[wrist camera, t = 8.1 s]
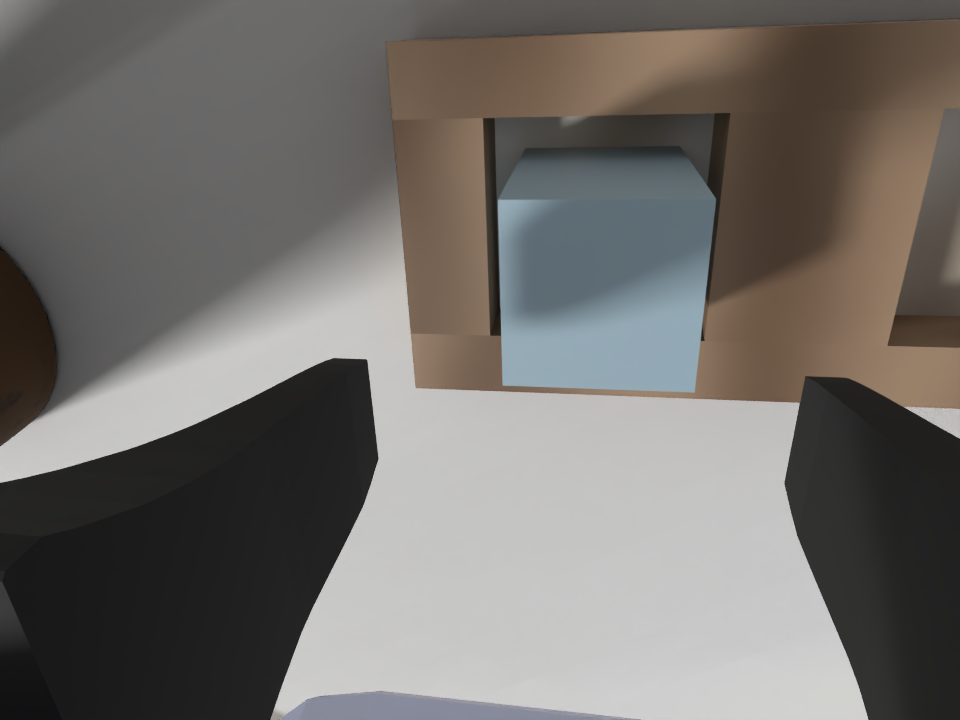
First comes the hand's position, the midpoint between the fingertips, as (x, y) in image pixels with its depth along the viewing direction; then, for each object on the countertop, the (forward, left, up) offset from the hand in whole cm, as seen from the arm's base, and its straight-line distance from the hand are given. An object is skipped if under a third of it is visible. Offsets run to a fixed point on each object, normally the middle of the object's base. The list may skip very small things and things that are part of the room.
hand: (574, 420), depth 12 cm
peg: (0, -1, -9) cm, 9 cm away
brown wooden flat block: (-5, -1, -9) cm, 11 cm away
